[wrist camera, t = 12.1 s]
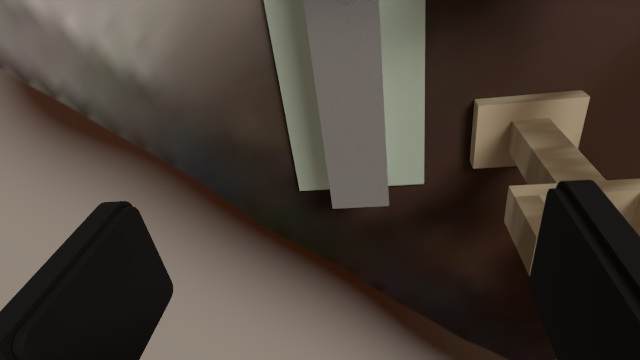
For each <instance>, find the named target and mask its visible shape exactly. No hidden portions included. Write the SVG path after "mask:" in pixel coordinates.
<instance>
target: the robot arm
mask: <svg viewBox="0 0 640 360" xmlns="http://www.w3.org/2000/svg"><path fill="white" fill-rule="evenodd" d="M529 289H530V293H531V296H532V299H533V301H534V304H535V306H536V309H537V311H538V314H539V316H540V318H541V321H542V323H543V326H544V328H545V330H546V333H547V335H548V338H549V340H550V343H551V345H552V347H553V350H554V352H555V355H556V357H557V360H640V236H639V235H638V234H637V233H636V231H635V230H634V229H633V228H632V226H631V225H630V224H629V223H628V222H627V220H626V219H625V218H624V217H623V215H622V214H621V213H620V212H619V211H618V209H617V208H616V207H615V206H614V204H613V203H612V202H611V201H610V200H609V198H608V197H607V196H606V195H605V193H604V192H603V191H602V190H601V189H600V187H599V186H598V185H597V184H596V183H595V182H594V181H593V180H572V181H560V182H559V183H558V184H557V186H556V188H551V189H549V190H548V192H547V195H546V200H545V205H544V210H543V214H542V219H541V224H540V229H539V234H538V239H537V243H536V248H535V253H534V258H533V263H532V268H531V272H530V277H529ZM172 293H173V284H172V281H171V279H170V277H169V275H168V273H167V271H166V268H165V266H164V264H163V262H162V260H161V258H160V256H159V253H158V251H157V249H156V247H155V245H154V243H153V241H152V238H151V236H150V234H149V232H148V230H147V227H146V225H145V223H144V221H143V219H142V217H141V215H140V212H139V211H138V209H136V208H135V207H133V206H132V205H131V204H130V203H129V202H126V201H120V202H104V203H101V204H100V205H99V206H98V207H97V208H96V209H95V210H94V211H93V212H92V213H91V214H90V215H89V216H88V217H87V219H86V220H85V221H84V222H83V223H82V224H81V225H80V226H79V227H78V228H77V229H76V230H75V231H74V233H73V234H72V235H71V236H70V237H69V238H68V239H67V240H66V241H65V242H64V243H63V245H62V246H61V247H60V248H59V249H58V250H57V251H56V252H55V253H54V254H53V255H52V256H51V257H50V258H49V260H48V261H47V262H46V263H45V264H44V265H43V266H42V267H41V268H40V269H39V270H38V271H37V273H36V274H35V275H34V276H33V277H32V278H31V279H30V280H29V281H28V282H27V283H26V284H25V285H24V287H23V288H22V289H21V290H20V291H19V292H18V293H17V294H16V295H15V296H14V297H13V298H12V300H11V301H10V302H9V303H8V304H7V305H6V306H5V307H4V308H3V309H2V310H1V311H0V360H139V359H140V357H141V355H142V353H143V351H144V349H145V348H146V346H147V344H148V342H149V340H150V338H151V336H152V334H153V332H154V330H155V328H156V326H157V324H158V322H159V321H160V318H161V317H162V315H163V313H164V311H165V309H166V307H167V305H168V303H169V301H170V299H171V297H172Z"/></svg>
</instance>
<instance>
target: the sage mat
mask: <svg viewBox="0 0 640 360" xmlns="http://www.w3.org/2000/svg"><path fill="white" fill-rule="evenodd" d="M264 5H265V10H266V16H267V21H268V26H269V32H270V37H271V42H272V47H273V53H274V58H275V63H276V69H277V74H278V79H279V84H280V90H281V95H282V100H283V105H284V111H285V116H286V121H287V127H288V132H289V137H290V142H291V148H292V153H293V158H294V164H295V169H296V174H297V179H298V185H299V190H300V191H309V190H326V189H330V186H329V179H328V172H327V165H326V158H325V151H324V144H323V137H322V130H321V123H320V116H319V108H318V101H317V94H316V87H315V80H314V73H313V66H312V59H311V52H310V45H309V38H308V31H307V24H306V17H305V9H304V2H303V0H264ZM379 12H380V32H381V53H382V73H383V93H384V114H385V134H386V155H387V175H388V186H395V185H412V184H424V119H425V0H379Z"/></svg>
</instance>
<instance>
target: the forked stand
mask: <svg viewBox="0 0 640 360" xmlns="http://www.w3.org/2000/svg"><path fill="white" fill-rule="evenodd" d="M589 99H590V96H589V95H587V94H586V93H585V92H584V91H582V90H578V91H566V92H555V93H543V94H531V95H520V96H508V97H496V98H485V99H474V112H473V125H472V138H471V151H470V162H471V165H472V167H473V169H477V168H493V167H509V166H517V167H518V169H519V170H520V172H521V174H522V175H523V177H524V179H525V180H526V182H527V184H528V185H517V186H509V189H508V196H507V203H506V210H505V217H504V222H505V224H506V226H507V229H508V231H509V233H510V235H511V237H512V240H513V242H514V244H515V246H516V248H517V250H518V253H519V255H520V257H521V259H522V261H523V264H524V266H525V268H526V270H527V272H528V274H529V276H530V272H531V268H532V263H533V258H534V253H535V248H536V243H537V239H538V234H539V229H540V224H541V219H542V214H543V210H544V205H545V200H546V195H547V192H548V190H549V189H551V188H556V186H557V184H558V183H559V182H560V181H572V180H593V181H594V182H595V183H596V184H597V185H598V186H599V187H600V189H601V190H602V191H603V192H604V193H605V195H606V196H607V197H608V198H609V200H610V201H611V202H612V203H613V204H614V206H615V207H616V208H617V209H618V211H619V212H620V213H621V214H622V215H623V217H624V218H625V219H626V220H627V222H628V223H629V224H630V225H631V226H632V228H633V229H634V230H635V231H636V233H637V234H638V235H639V236H640V179H624V180H607V181H606V180H605V179H604V178H603V176H602V175H601V174H600V173H599V172H598V171H597V170H596V169H595V168H594V167H593V165H592V164H591V163H590V162H589V161H588V160H587V159H586V158H585V157H584V156H583V154H582V153H581V152H580V151H579V150H578V146H579V142H580V137H581V133H582V129H583V125H584V120H585V116H586V112H587V108H588V104H589Z"/></svg>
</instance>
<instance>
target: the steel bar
mask: <svg viewBox="0 0 640 360" xmlns="http://www.w3.org/2000/svg"><path fill="white" fill-rule="evenodd" d="M303 2H304V9H305V17H306V24H307V31H308V38H309V45H310V52H311V59H312V66H313V73H314V80H315V87H316V94H317V101H318V108H319V116H320V123H321V130H322V137H323V144H324V151H325V158H326V165H327V172H328V179H329V186H330V193H331V200H332V207H333V209H338V208H357V207H377V206H389V195H388V175H387V155H386V134H385V114H384V93H383V73H382V53H381V32H380V12H379V0H303Z"/></svg>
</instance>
